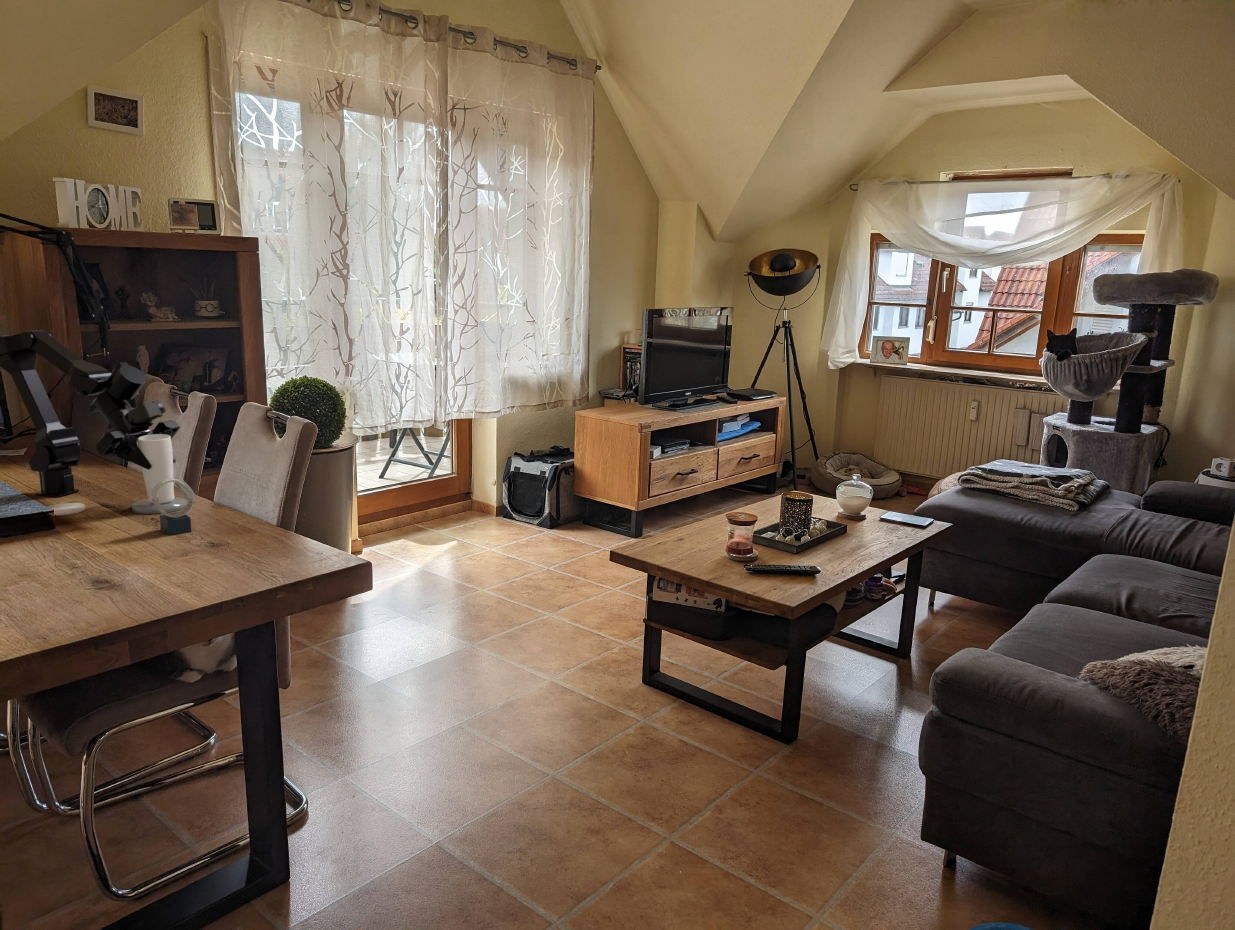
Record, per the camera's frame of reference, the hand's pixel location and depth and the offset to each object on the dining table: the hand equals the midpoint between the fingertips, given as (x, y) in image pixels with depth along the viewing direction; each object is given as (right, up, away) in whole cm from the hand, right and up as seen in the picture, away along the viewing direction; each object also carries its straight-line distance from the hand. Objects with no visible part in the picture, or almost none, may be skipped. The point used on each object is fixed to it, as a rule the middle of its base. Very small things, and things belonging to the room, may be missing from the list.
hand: (162, 465), depth 195 cm
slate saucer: (-2, -10, +2) cm, 10 cm away
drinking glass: (-2, -8, +3) cm, 9 cm away
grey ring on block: (+10, -14, -14) cm, 23 cm away
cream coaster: (-20, -10, -2) cm, 23 cm away
